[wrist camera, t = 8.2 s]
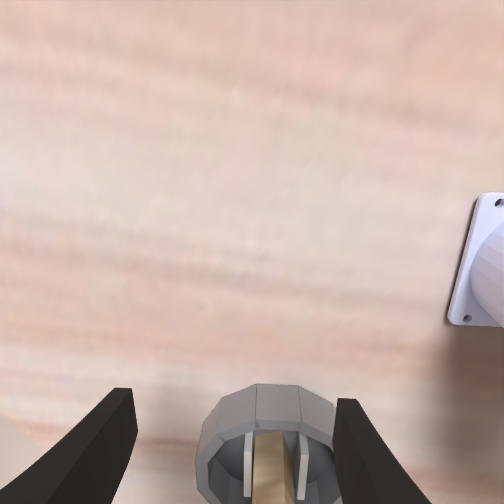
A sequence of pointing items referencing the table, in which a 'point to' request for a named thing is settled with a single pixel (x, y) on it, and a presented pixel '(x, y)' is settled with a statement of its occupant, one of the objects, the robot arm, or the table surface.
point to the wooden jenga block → (272, 470)
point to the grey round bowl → (261, 422)
